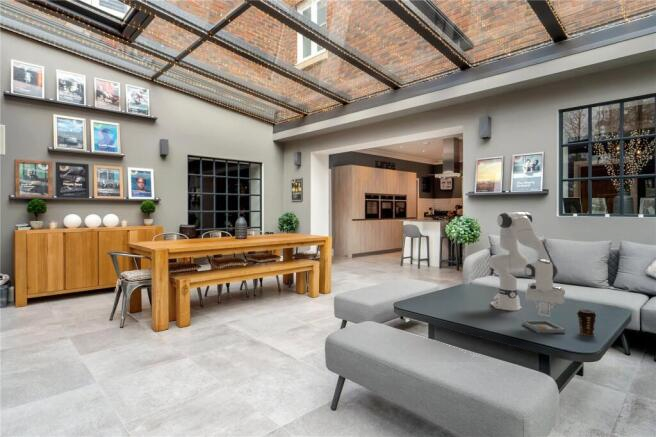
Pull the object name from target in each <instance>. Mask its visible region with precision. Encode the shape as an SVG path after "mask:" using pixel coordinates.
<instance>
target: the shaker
mask: <svg viewBox="0 0 656 437" xmlns="http://www.w3.org/2000/svg"><path fill="white" fill-rule="evenodd" d="M538 305H539V309H538V316H545V317H548V318H550V317H551V310H550V307H551V303H550V302H539V301H538Z"/></svg>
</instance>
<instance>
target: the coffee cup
mask: <svg viewBox="0 0 656 437" xmlns="http://www.w3.org/2000/svg"><path fill="white" fill-rule="evenodd" d="M576 315H577V318H578V327H579V334H581V335H582V336H583V335H584V336H594V335H595V333H594V331H595V325H596V317H597V314H596V313H595V311H593V310H589V309H579V310H578V312H576Z"/></svg>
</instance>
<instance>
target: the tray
mask: <svg viewBox="0 0 656 437" xmlns="http://www.w3.org/2000/svg"><path fill="white" fill-rule="evenodd" d="M541 325H545V326H546V328H547V329H541V328H540V327H541ZM522 326H524V327H525V328H527V329H529V330H531V331H533V332H535V333H536V334H539V335H543V334H545V335H546V334H547V335H548V334H551V335H552V334H558V335H559V334H565V333H566V331H565V330H566V329H565V328H563V327H561V326H559V325H557V324H555V323H552V322H550V321H548V320H522Z"/></svg>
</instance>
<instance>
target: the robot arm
mask: <svg viewBox="0 0 656 437" xmlns="http://www.w3.org/2000/svg"><path fill="white" fill-rule="evenodd" d="M497 225H499V227H500V230H499V246H500V248H501V249H502V250H504V251H507V252H508V254H492V255H491V256H490V257H489V258H488V265H489V267H490V268H492V270H494V271H495V272H496V273H497V276H498V280H499V288H498V293H497V294H496V295H494V297H493V298H492V300H493V301H491V302H490V305H491V306H493V308H495V309H497V310H498V309H499V310H504V311H520V310H521V309H522V308H523V307H522V306H521V303H520V302H521V301H520V300H521V299H520V297H519V295H518V292H519V291H518V290H519V289H518V279H517V277H515V275H512V274H510V273H509V271H522V270H523V271H524V273H525V275H526V277H528V278H529V279H535V282H532V283H528V284H527V288H526V290H525V294H524V296H525V301H532V302H534V305H535V306H536V309H537V310H539V304H538V303H539V302H550V304H551V305H550V311H553V310H554V307H555V305H556V304H559V305H560V304H561V305H563V304H565V295H566V291H565V289H564V288H563V287H558V286H557V287H555V286H554V281H553V279H554V278H556V277H557V275H558V273H559V272H558V268H557V265H556V264H555V263H554V261H553V259H552V257H551V255H550V254H549V250H548V249H547V247H546V245H545V243H544V241H543V240H542V239H540V237H538V236H537V234H536V232H535V229H534V225H533V216H532V214H531V213H529V212H526V211H524V212H523V211H513V212H511V211H510V212H502V213H500V214H499V215H498V216H497ZM518 243H519V244H520V245H522V246H524V247H527V248H530V249H533V251H535V252H536V253H537V254H538V256H539V258H540V259H539V258H538V259H537V260H536V261H534V262H531V263H529V260H528V258H527V257H526V256H525V255H524V254H522V253H521V251H520V249H519V247H518Z"/></svg>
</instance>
